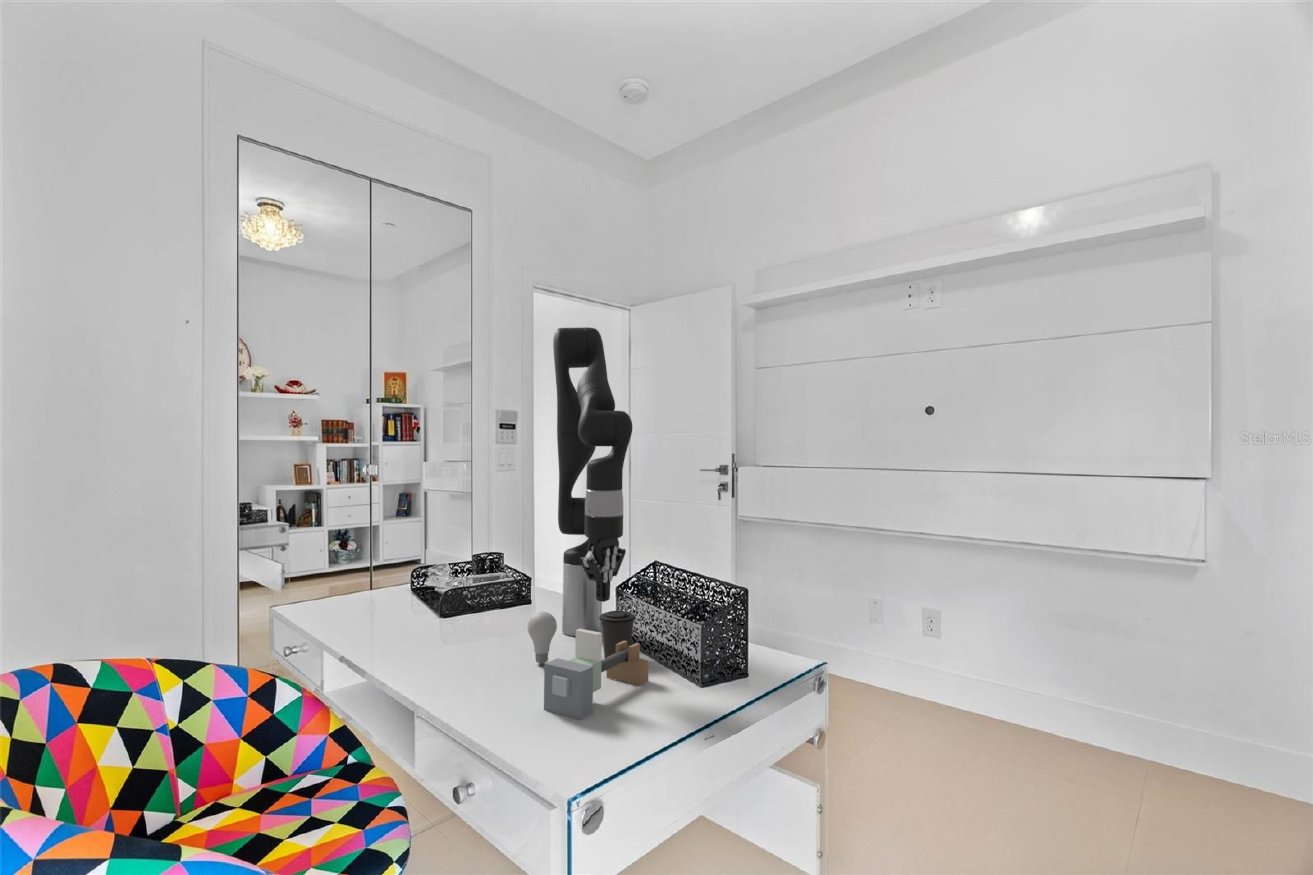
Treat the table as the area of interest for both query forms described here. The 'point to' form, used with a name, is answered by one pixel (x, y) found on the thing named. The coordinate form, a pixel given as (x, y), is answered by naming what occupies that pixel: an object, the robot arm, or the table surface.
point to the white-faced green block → (589, 653)
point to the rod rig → (589, 680)
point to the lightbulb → (542, 634)
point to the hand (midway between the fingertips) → (602, 600)
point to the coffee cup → (616, 630)
